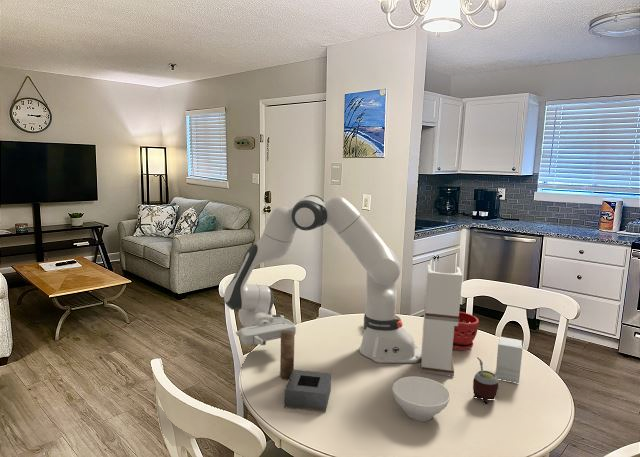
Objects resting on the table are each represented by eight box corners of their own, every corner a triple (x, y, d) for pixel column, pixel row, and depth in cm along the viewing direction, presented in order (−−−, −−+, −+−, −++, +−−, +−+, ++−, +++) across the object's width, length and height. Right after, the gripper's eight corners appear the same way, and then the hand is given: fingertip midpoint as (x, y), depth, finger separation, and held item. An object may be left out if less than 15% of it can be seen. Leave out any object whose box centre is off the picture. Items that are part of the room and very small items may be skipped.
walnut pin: (294, 373, 144) (295, 330, 141) (292, 380, 139) (293, 336, 137) (281, 372, 144) (282, 329, 142) (278, 378, 140) (279, 335, 137)
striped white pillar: (453, 376, 145) (462, 275, 139) (421, 372, 147) (428, 272, 141) (451, 361, 156) (459, 267, 150) (421, 357, 158) (427, 264, 152)
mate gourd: (494, 394, 134) (498, 349, 132) (499, 408, 127) (504, 360, 124) (469, 391, 136) (473, 346, 133) (472, 405, 128) (477, 357, 126)
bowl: (412, 436, 113) (414, 411, 112) (380, 403, 127) (381, 381, 126) (460, 422, 119) (462, 399, 118) (424, 393, 134) (426, 372, 133)
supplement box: (519, 375, 147) (522, 340, 145) (518, 385, 141) (523, 348, 139) (495, 370, 150) (499, 335, 148) (494, 379, 144) (498, 343, 142)
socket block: (330, 390, 134) (331, 373, 133) (325, 412, 122) (326, 394, 121) (292, 386, 136) (293, 369, 135) (284, 407, 124) (284, 389, 123)
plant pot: (452, 354, 162) (454, 323, 160) (435, 339, 174) (437, 311, 172) (483, 351, 165) (486, 321, 163) (464, 337, 177) (466, 309, 175)
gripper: (234, 323, 154) (247, 337, 142) (286, 314, 164) (303, 326, 152) (234, 339, 155) (247, 355, 143) (286, 330, 165) (302, 343, 153)
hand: (276, 340), depth 148 cm, fingers open, 8 cm apart
